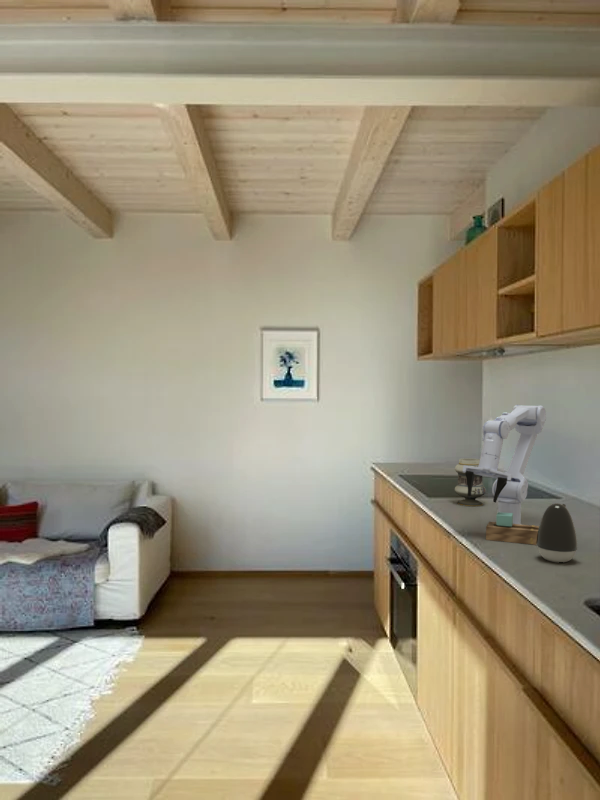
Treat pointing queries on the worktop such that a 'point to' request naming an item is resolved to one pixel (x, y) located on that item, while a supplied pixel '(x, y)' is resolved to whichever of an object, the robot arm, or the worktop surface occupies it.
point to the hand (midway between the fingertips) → (481, 499)
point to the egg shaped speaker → (557, 534)
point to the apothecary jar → (463, 486)
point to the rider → (504, 519)
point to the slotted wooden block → (512, 533)
